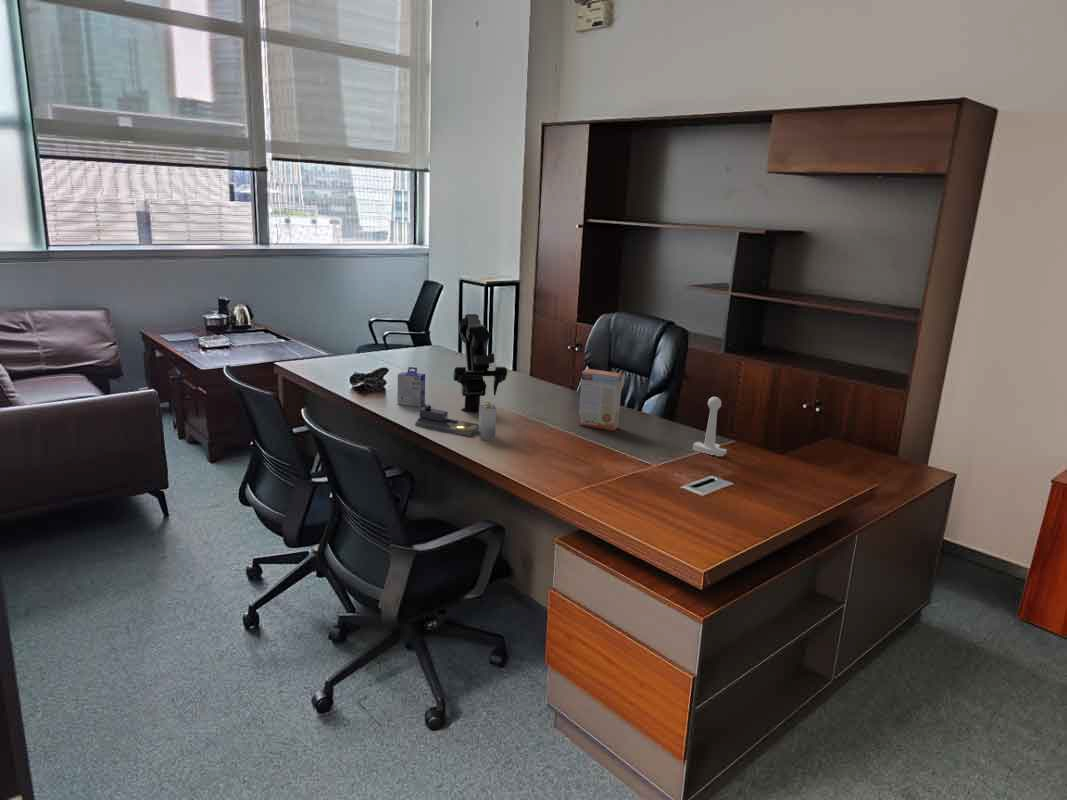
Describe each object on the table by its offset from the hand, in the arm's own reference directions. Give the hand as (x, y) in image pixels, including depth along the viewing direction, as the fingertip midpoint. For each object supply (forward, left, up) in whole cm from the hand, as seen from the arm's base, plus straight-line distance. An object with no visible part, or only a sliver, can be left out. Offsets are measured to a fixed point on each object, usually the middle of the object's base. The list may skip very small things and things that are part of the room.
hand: (482, 395), depth 259 cm
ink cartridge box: (-14, -39, -13) cm, 43 cm away
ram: (+4, -17, -11) cm, 21 cm away
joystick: (-22, +77, -13) cm, 82 cm away
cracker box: (-28, +34, -13) cm, 46 cm away
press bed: (+3, -11, -13) cm, 17 cm away
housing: (+6, +5, -13) cm, 15 cm away
